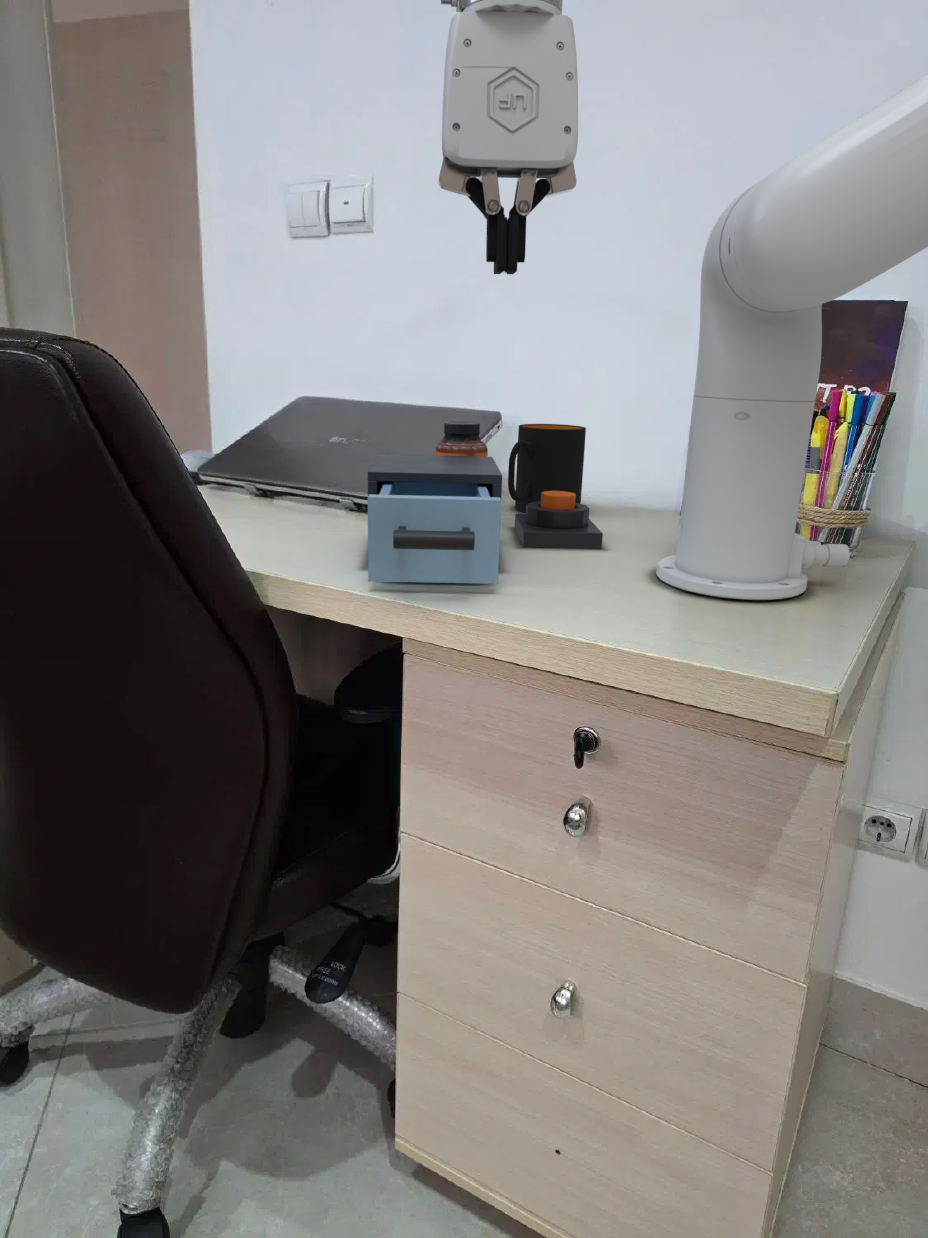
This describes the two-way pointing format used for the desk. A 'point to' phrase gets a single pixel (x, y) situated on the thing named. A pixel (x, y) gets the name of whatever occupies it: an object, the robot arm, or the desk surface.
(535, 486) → the mug
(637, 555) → the desk surface
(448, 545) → the light blue drawer
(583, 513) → the panel
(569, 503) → the release button
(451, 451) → the supplement bottle
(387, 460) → the drawer cabinet
